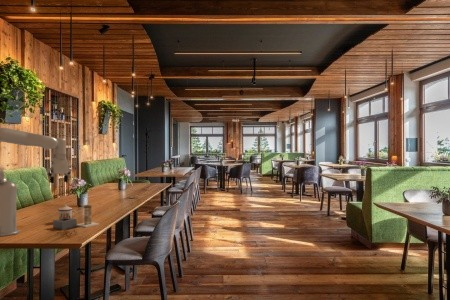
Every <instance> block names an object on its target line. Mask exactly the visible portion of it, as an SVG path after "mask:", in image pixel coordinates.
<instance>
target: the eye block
mask: <svg viewBox="0 0 450 300" xmlns="http://www.w3.org/2000/svg"><path fill="white" fill-rule="evenodd" d="M77 224H78V223H77V219H76V218H62V219H59V218H58V219H54V220H52V228H53V229H55V230H61V231H64V230H65V231H66V230H67V229H72V228H73V229H74V228H77V227H78V226H77Z"/></svg>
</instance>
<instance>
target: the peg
mask: <svg viewBox="0 0 450 300" xmlns="http://www.w3.org/2000/svg"><path fill="white" fill-rule="evenodd" d="M92 207H93V205H92V204H87V205H86V204H85V205H83V211H84V214H83V217H84V218H83V220H84V221H83V223H84V224H87V225H88V224H92V222H93V221H92V220H93V219H92Z"/></svg>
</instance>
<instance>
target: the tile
mask: <svg viewBox="0 0 450 300" xmlns="http://www.w3.org/2000/svg"><path fill="white" fill-rule="evenodd" d="M99 225H100V223H98V222H93V221H92V224H88V225H87V224H84V222H82V223H77V227H81V228H90V227H94V226H99Z"/></svg>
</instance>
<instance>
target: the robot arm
mask: <svg viewBox="0 0 450 300" xmlns="http://www.w3.org/2000/svg"><path fill="white" fill-rule="evenodd" d="M0 143H8V144H14V145H19V146H26V147H28V146H29V147H39V148H42V149H45V150H47V149H48V150H53V154H51V158H52V159H51V163H50V167H48V168H47V169H45V172H46V174H47V175H48V177H49V182H50V184H54V183H55V177H54V176H55V175H60V174H61V175H62V174H63V175H64V176H63V182H64V183H68V181H69V176H70V175H71V173H72V171H73V170H72V168H69V162H68V161H69V160H68V158H67V139H66V138H64V137H53V136H48V135H43V134H37V133H34V132H30V131H23V130H18V129H14V128H13V129H12V128H7V127H0ZM17 195H18V187H17V185H16V183H14V182H13V181H11V180H10V181H9V180H7V177H5V172H4V170H3V168H1V167H0V237H5V236H12V235H17V234H19V233H20V232H21V231H20V229H17V228H18V227H17V197H18V196H17Z"/></svg>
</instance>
